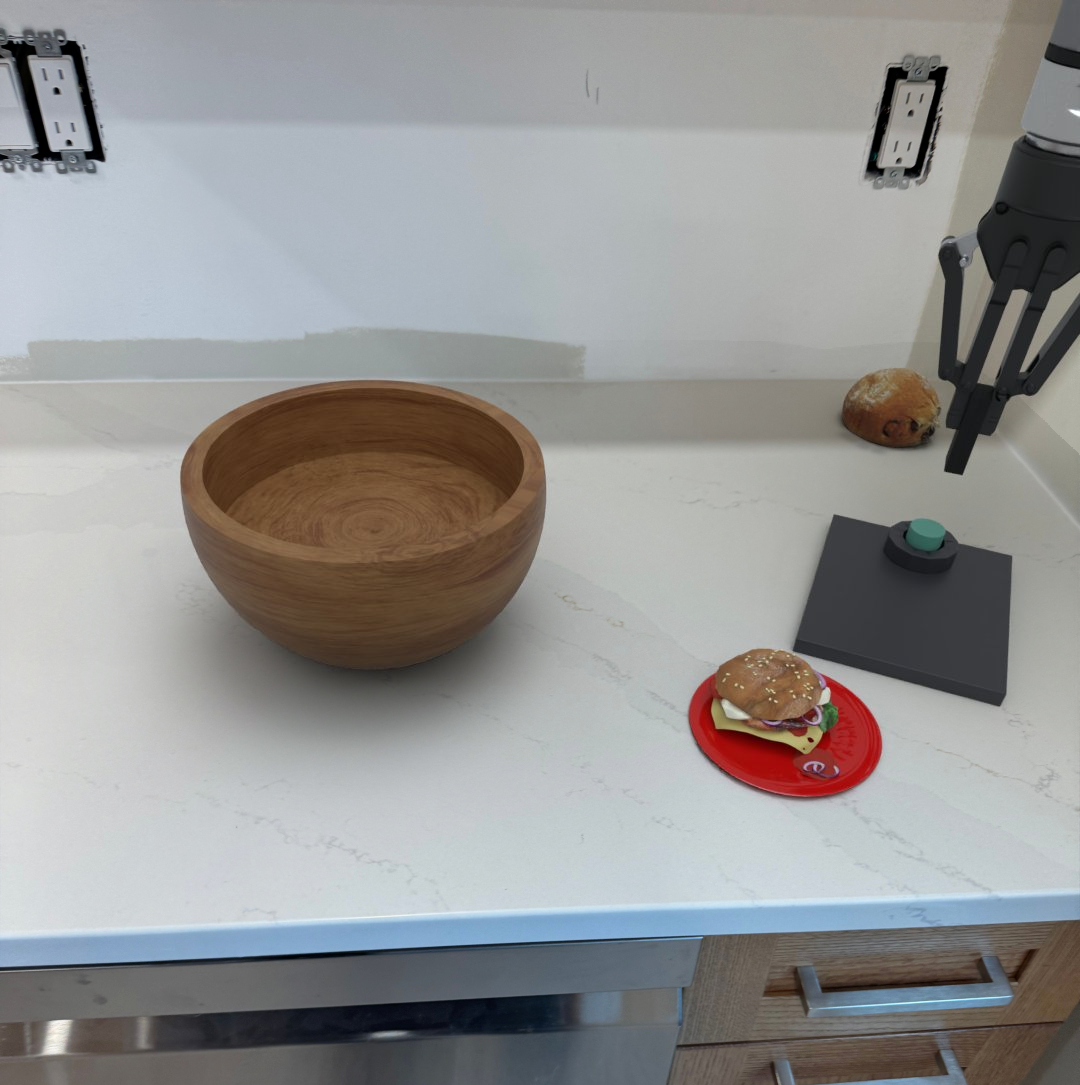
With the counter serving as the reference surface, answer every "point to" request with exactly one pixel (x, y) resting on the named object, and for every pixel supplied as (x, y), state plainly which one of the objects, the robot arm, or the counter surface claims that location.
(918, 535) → the button
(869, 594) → the scale
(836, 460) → the counter surface
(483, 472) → the bowl
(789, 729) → the hamburger
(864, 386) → the bread roll
